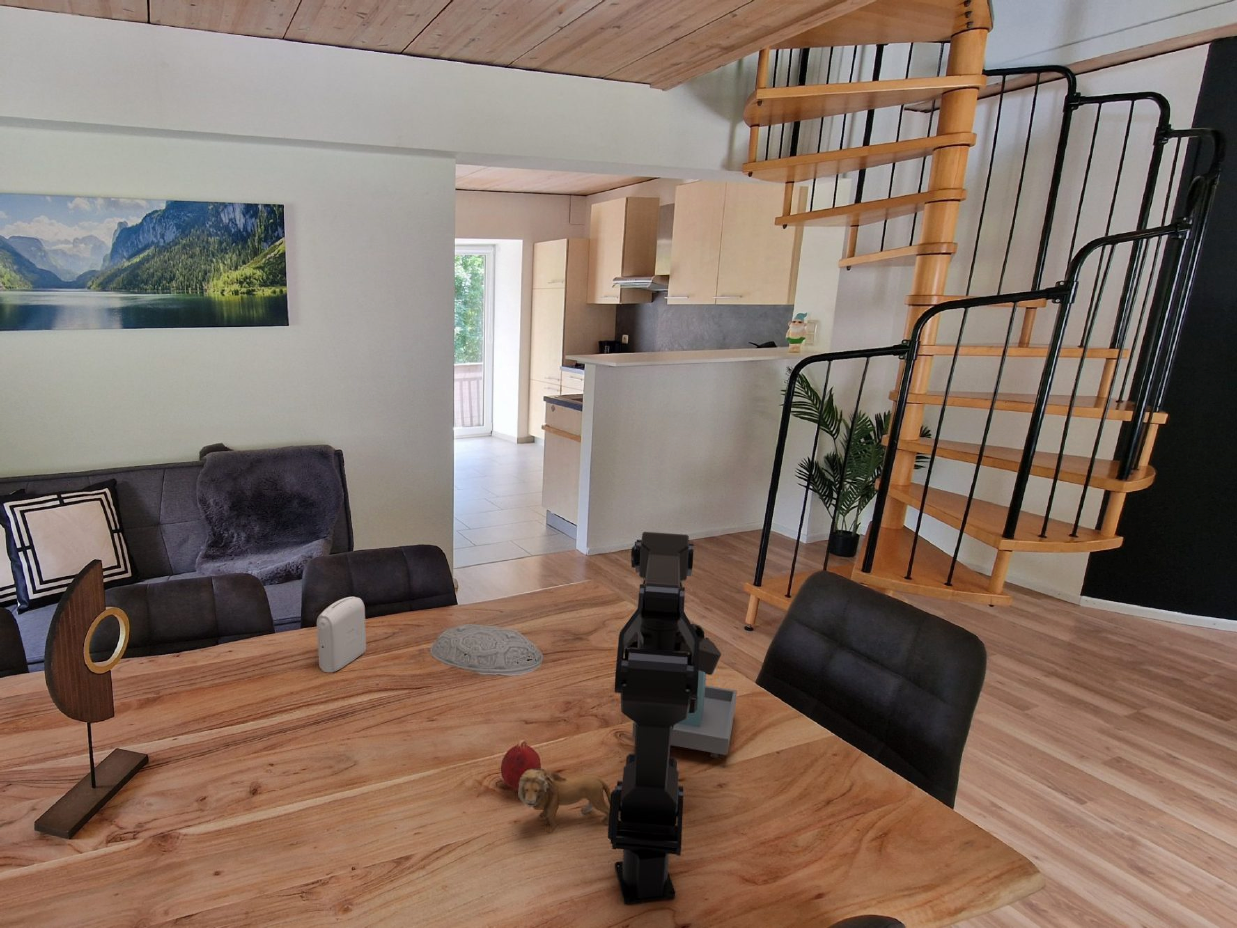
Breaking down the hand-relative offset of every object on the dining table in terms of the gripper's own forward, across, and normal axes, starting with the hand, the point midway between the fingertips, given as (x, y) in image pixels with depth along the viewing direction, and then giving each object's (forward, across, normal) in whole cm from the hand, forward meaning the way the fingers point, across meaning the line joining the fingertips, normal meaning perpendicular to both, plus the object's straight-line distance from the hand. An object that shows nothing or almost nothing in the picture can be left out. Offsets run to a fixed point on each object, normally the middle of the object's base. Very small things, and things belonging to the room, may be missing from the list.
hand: (653, 724), depth 105 cm
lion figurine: (+13, -2, +12) cm, 18 cm away
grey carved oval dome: (+14, +49, +22) cm, 55 cm away
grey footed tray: (+13, +17, -10) cm, 24 cm away
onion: (+13, +6, +18) cm, 23 cm away
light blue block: (+10, +17, -10) cm, 22 cm away
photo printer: (+13, +49, +49) cm, 71 cm away
